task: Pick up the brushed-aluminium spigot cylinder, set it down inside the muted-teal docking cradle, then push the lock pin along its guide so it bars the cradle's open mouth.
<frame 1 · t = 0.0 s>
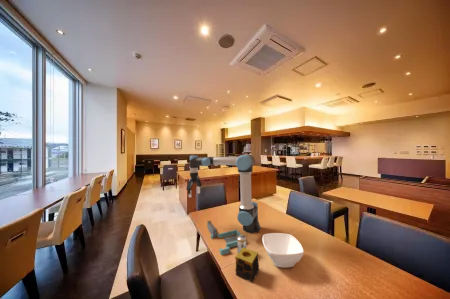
hand: (194, 195, 142), 28 cm above the table, fingers open, 13 cm apart
lock pin: (211, 228, 129), point 4 cm above the table, slide at 0.0 cm
dock cradle: (231, 240, 117), on the table
spigot: (242, 252, 102), on the table
candle: (247, 273, 85), on the table
bowl: (282, 262, 93), on the table
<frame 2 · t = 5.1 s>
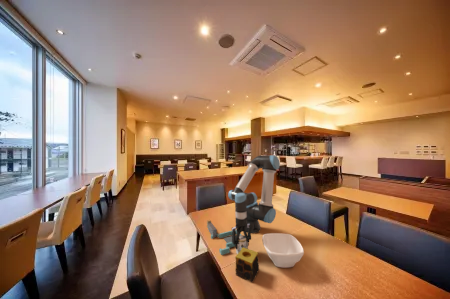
hand: (242, 252, 102), 0 cm above the table, fingers closed on spigot, 6 cm apart
spigot: (242, 252, 102), on the table, touching gripper
everything else where it was.
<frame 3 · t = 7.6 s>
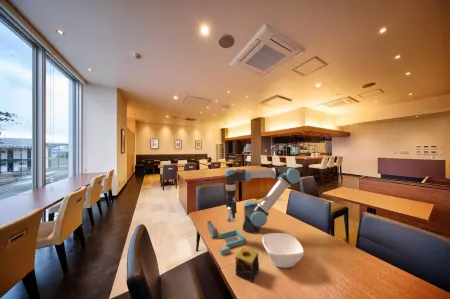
hand: (231, 219, 117), 15 cm above the table, fingers closed on spigot, 6 cm apart
spigot: (231, 220, 117), point 15 cm above the table, touching gripper
everything else where it was.
when the fingers open (3 cm above the table, at t = 10.0 s): spigot drops 3 cm, resting on dock cradle.
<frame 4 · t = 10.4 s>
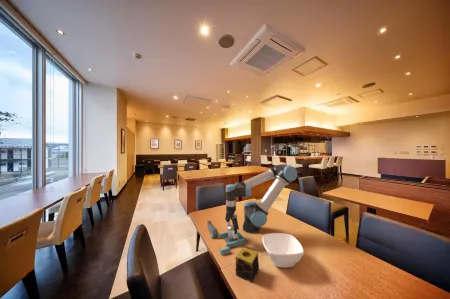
hand: (231, 233, 117), 5 cm above the table, fingers open, 11 cm apart
spigot: (231, 239, 117), resting on dock cradle
everything else where it was.
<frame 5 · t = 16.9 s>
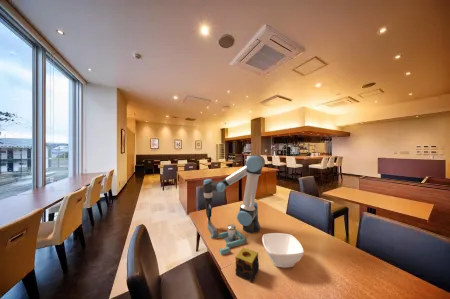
hand: (208, 223, 136), 4 cm above the table, fingers closed
lock pin: (212, 229, 128), point 4 cm above the table, slide at 1.4 cm, touching gripper
everything else where it was.
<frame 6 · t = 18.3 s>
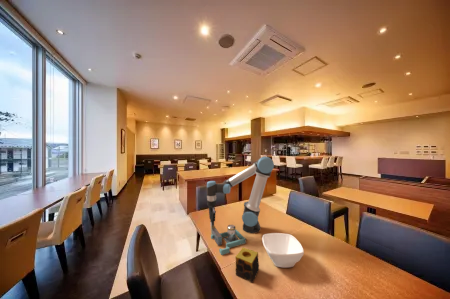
hand: (212, 228, 127), 4 cm above the table, fingers closed
lock pin: (216, 234, 118), point 4 cm above the table, slide at 11.4 cm, touching gripper
everything else where it was.
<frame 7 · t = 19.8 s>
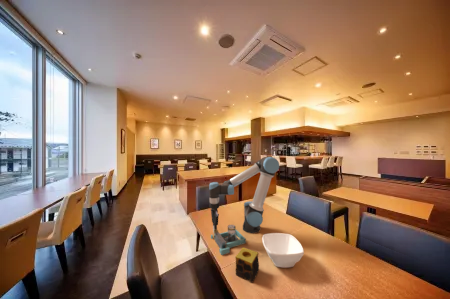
hand: (215, 232, 120), 4 cm above the table, fingers closed
lock pin: (219, 239, 112), point 4 cm above the table, slide at 18.3 cm, touching gripper
everything else where it was.
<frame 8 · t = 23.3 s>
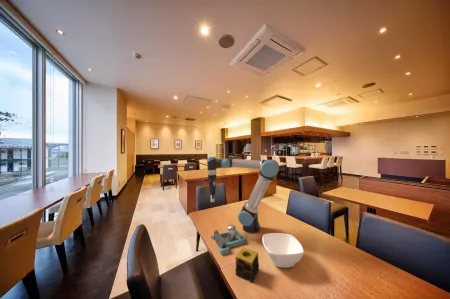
hand: (212, 201, 133), 24 cm above the table, fingers closed
lock pin: (219, 239, 112), point 4 cm above the table, slide at 18.5 cm
everything else where it was.
at the end: spigot 0.4 cm from the dock cradle (horizontally); spigot tilted 1°; lock pin slide at 18.5 cm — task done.
